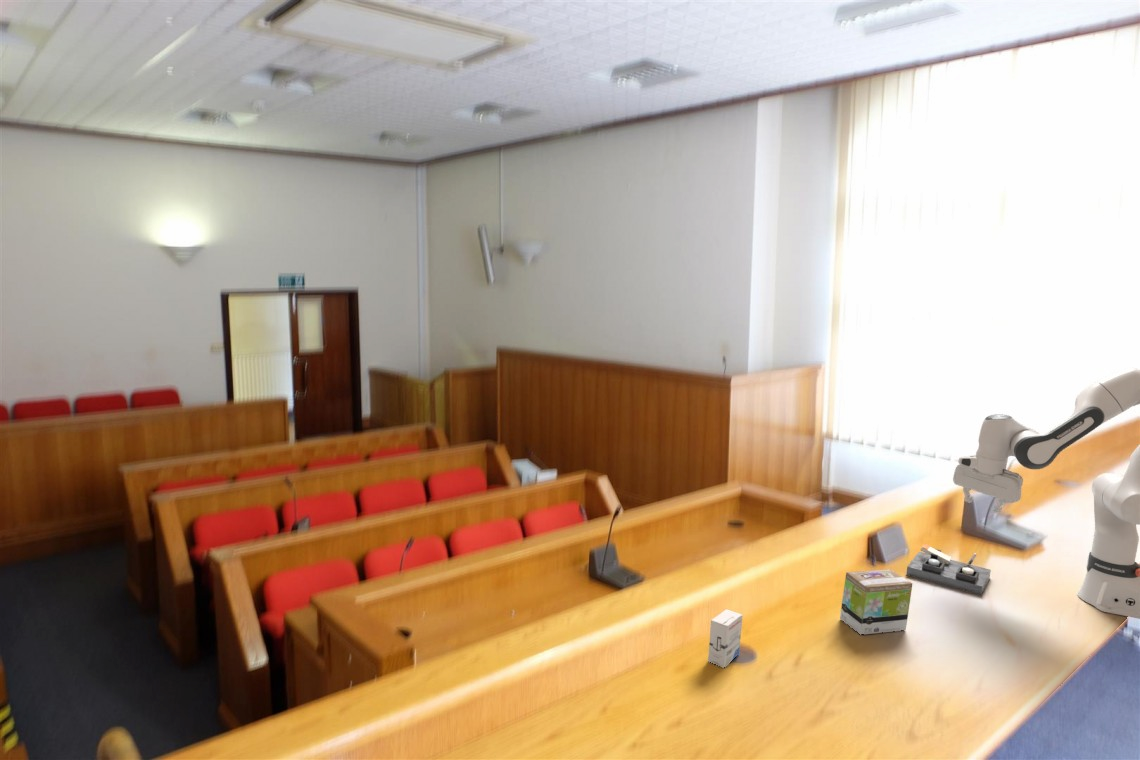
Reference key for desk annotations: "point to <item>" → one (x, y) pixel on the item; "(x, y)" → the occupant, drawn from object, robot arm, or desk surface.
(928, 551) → the rocker
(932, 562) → the button
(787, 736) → the desk surface
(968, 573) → the button
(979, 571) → the panel
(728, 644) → the ink box
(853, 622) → the tea box
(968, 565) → the toggle lever
